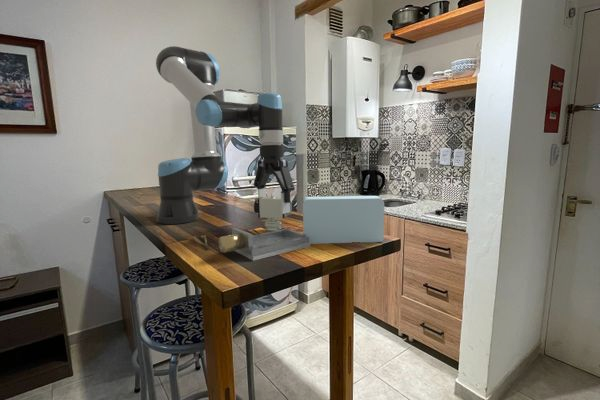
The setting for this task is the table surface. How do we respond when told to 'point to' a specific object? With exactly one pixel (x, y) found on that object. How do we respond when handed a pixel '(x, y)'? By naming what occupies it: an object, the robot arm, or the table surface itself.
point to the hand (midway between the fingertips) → (273, 210)
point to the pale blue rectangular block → (343, 219)
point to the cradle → (263, 243)
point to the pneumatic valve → (270, 211)
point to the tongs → (202, 242)
